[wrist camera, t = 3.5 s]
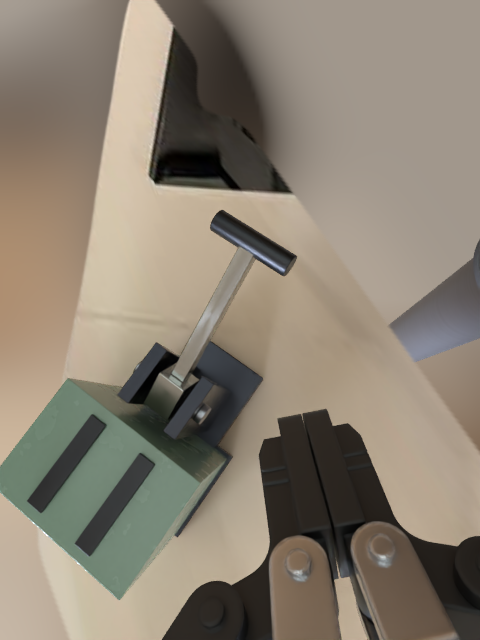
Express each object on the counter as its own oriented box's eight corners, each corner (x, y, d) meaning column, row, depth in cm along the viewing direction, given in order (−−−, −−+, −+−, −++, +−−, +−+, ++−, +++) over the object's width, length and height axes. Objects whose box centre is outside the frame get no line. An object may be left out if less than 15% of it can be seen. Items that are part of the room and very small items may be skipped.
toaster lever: (229, 210, 27) (214, 208, 25) (300, 255, 26) (291, 257, 24) (143, 378, 32) (124, 389, 29) (201, 421, 31) (185, 436, 28)
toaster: (140, 385, 42) (65, 370, 27) (233, 456, 40) (206, 482, 25) (87, 458, 41) (-22, 483, 26) (179, 535, 39) (118, 611, 24)
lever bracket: (199, 334, 43) (163, 297, 29) (263, 379, 41) (257, 362, 28) (140, 415, 41) (74, 416, 28) (204, 465, 40) (166, 492, 26)
